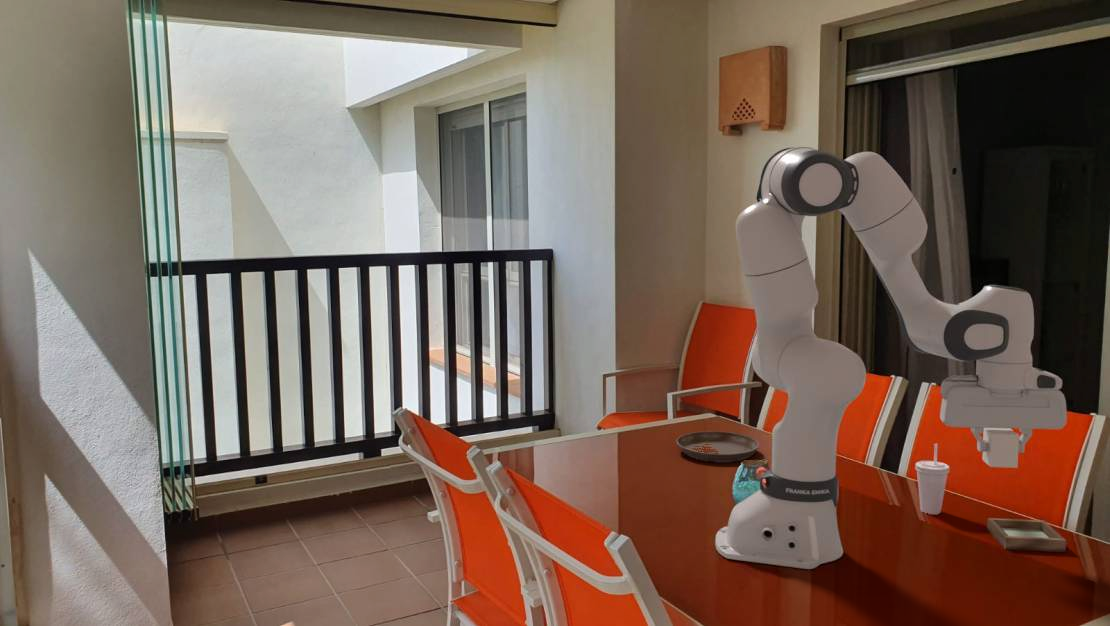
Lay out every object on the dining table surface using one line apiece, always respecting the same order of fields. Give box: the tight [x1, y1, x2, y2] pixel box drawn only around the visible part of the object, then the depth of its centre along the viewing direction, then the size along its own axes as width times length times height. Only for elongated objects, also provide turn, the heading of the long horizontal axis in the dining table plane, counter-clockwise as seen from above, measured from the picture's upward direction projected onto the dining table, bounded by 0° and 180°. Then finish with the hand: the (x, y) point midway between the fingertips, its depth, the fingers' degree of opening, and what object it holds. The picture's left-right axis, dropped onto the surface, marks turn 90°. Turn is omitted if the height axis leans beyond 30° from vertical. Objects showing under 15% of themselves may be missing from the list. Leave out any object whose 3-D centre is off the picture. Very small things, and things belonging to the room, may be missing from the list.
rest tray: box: [986, 517, 1067, 553], centre depth 157 cm, size 10×10×2 cm
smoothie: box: [914, 443, 950, 515], centre depth 173 cm, size 6×6×14 cm
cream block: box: [981, 428, 1020, 469], centre depth 153 cm, size 4×4×6 cm
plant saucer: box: [676, 430, 760, 463], centre depth 218 cm, size 21×21×3 cm
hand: (1000, 451), depth 153 cm, fingers closed on cream block, 4 cm apart
